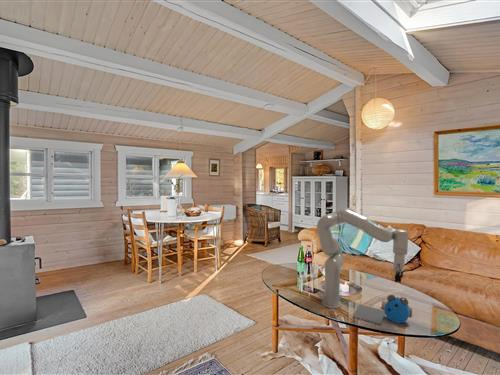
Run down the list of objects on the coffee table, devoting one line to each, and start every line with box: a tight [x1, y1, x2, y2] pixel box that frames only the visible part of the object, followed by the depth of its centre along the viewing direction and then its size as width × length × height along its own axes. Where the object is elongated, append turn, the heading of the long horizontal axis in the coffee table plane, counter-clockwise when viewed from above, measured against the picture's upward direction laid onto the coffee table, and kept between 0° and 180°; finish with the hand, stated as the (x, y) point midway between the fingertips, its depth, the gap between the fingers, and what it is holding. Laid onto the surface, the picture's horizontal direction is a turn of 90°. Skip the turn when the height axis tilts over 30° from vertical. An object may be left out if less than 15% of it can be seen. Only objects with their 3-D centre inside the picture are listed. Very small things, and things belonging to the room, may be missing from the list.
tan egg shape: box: [381, 298, 388, 310], centre depth 193 cm, size 5×5×5 cm
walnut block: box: [408, 307, 413, 318], centre depth 185 cm, size 4×4×4 cm
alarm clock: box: [383, 294, 411, 324], centre depth 176 cm, size 13×6×15 cm, turn 55°
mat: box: [352, 304, 386, 326], centre depth 184 cm, size 16×20×1 cm
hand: (398, 279), depth 175 cm, fingers open, 9 cm apart
